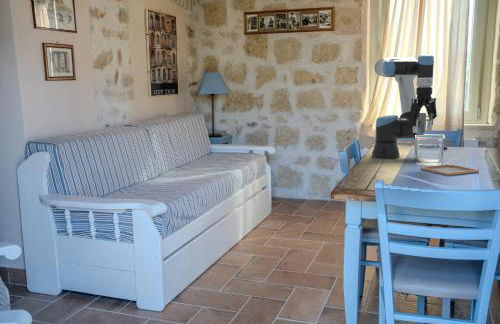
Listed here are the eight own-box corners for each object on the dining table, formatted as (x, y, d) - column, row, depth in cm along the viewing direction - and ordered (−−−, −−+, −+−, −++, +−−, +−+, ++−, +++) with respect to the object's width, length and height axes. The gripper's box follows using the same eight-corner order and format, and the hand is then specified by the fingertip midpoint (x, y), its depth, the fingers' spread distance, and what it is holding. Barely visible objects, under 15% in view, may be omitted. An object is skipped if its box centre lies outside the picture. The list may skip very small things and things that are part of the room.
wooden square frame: (420, 169, 233) (420, 167, 232) (449, 166, 240) (450, 164, 239) (448, 175, 217) (448, 173, 216) (478, 172, 224) (478, 169, 223)
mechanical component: (433, 133, 240) (434, 113, 239) (412, 133, 243) (412, 113, 241) (432, 132, 243) (433, 112, 241) (411, 132, 245) (411, 112, 244)
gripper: (412, 87, 232) (410, 134, 235) (446, 86, 240) (444, 131, 243) (402, 87, 238) (400, 132, 242) (435, 86, 246) (433, 130, 250)
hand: (422, 132), depth 243 cm, fingers closed on mechanical component, 8 cm apart
